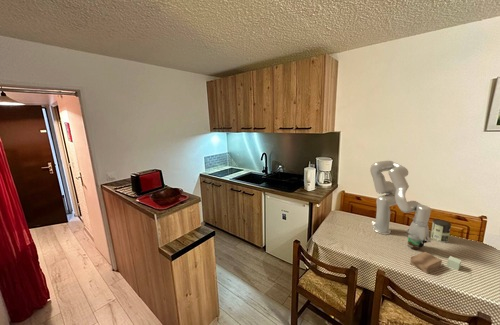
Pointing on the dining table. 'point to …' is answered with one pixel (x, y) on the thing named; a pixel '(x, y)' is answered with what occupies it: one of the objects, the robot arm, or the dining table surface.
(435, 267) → the walnut block
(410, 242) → the food container
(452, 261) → the sage block
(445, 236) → the coffee can
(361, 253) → the dining table surface
